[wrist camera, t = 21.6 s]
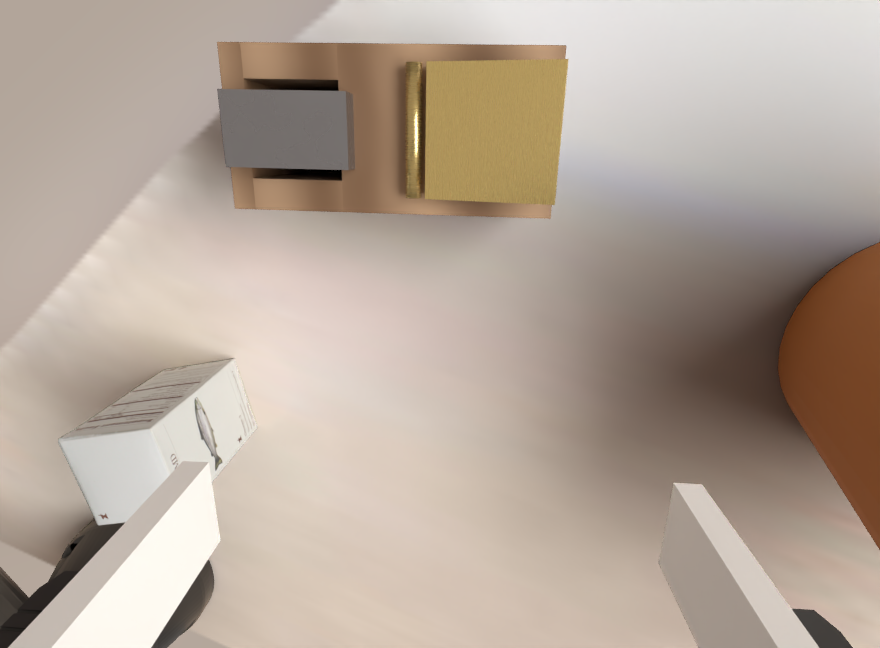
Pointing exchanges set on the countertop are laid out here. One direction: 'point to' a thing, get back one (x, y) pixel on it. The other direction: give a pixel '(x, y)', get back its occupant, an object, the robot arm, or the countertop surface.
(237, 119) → the grey block
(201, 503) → the robot arm
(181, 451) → the supplement box
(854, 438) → the flowerpot
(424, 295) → the countertop surface
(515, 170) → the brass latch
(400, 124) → the socket block
